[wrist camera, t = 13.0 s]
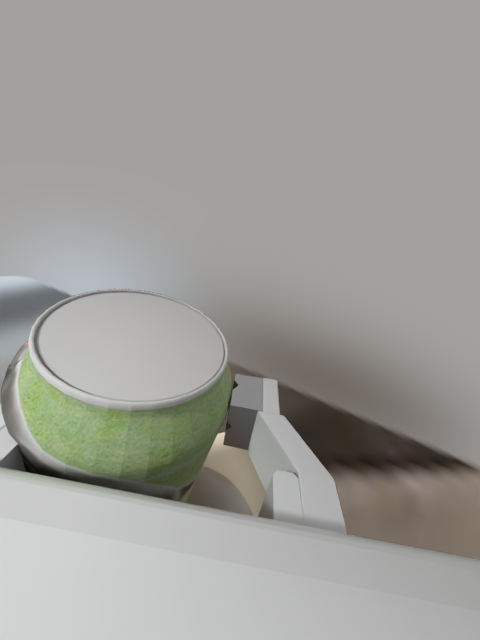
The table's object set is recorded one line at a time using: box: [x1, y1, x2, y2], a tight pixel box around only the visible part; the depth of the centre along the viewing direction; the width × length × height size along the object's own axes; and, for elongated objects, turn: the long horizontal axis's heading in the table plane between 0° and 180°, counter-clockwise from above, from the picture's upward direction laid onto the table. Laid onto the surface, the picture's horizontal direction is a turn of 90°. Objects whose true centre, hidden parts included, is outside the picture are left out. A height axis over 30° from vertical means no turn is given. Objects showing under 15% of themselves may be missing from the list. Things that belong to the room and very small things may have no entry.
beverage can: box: [1, 289, 232, 503], centre depth 9 cm, size 6×7×12 cm
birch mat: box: [186, 432, 266, 517], centre depth 14 cm, size 13×13×1 cm
